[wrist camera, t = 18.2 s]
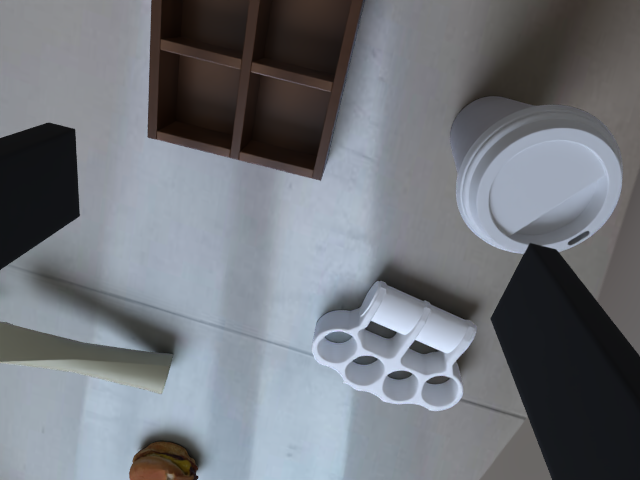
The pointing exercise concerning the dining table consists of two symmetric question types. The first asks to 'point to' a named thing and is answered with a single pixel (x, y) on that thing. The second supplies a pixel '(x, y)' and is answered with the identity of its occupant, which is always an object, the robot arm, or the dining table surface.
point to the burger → (163, 463)
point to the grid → (251, 77)
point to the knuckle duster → (397, 348)
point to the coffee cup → (534, 173)
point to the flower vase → (84, 358)
